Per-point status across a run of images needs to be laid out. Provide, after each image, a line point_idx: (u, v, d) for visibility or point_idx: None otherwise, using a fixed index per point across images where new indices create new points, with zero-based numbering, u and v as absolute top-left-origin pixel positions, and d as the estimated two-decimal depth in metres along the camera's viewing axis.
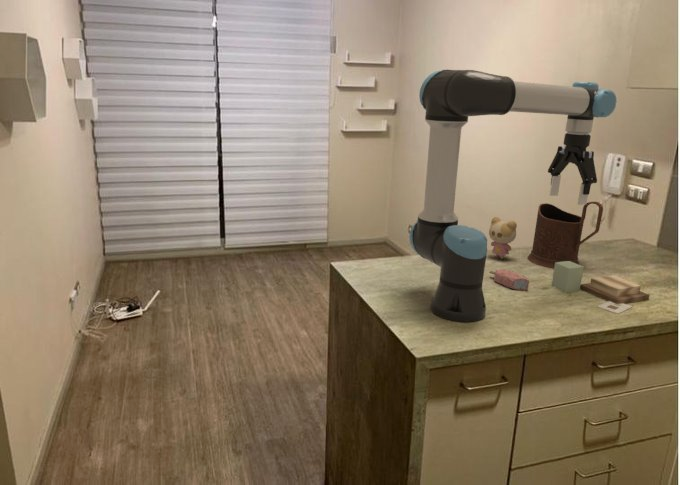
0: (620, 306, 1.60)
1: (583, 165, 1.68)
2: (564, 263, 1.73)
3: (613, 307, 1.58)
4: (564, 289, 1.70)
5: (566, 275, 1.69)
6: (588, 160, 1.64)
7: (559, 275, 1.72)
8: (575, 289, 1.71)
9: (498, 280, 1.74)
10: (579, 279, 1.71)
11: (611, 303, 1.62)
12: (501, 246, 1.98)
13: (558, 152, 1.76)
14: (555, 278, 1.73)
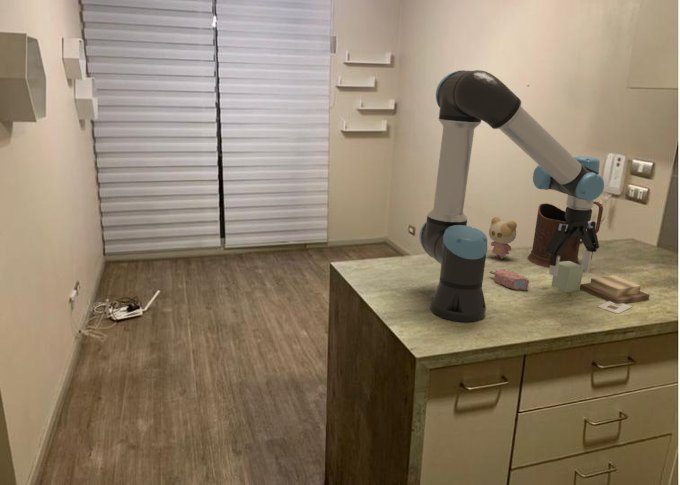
0: (620, 306, 1.60)
1: (564, 238, 1.67)
2: (564, 263, 1.73)
3: (613, 307, 1.58)
4: (564, 289, 1.70)
5: (566, 275, 1.69)
6: (556, 232, 1.66)
7: (559, 275, 1.72)
8: (575, 289, 1.71)
9: (498, 280, 1.74)
10: (579, 279, 1.71)
11: (611, 303, 1.62)
12: (501, 246, 1.98)
13: None
14: (555, 278, 1.73)
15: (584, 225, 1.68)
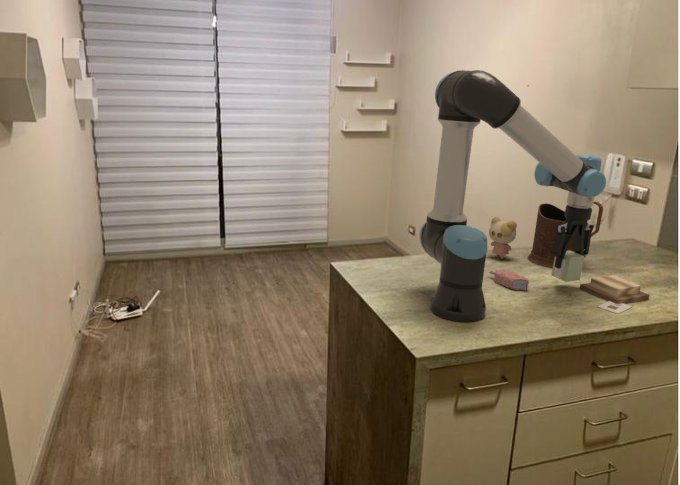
0: (620, 306, 1.60)
1: (565, 239, 1.68)
2: None
3: (613, 307, 1.58)
4: (564, 278, 1.69)
5: (567, 264, 1.68)
6: (557, 234, 1.67)
7: None
8: (575, 279, 1.70)
9: (498, 280, 1.74)
10: (579, 269, 1.70)
11: (611, 303, 1.62)
12: (501, 246, 1.98)
13: None
14: None
15: (584, 223, 1.67)
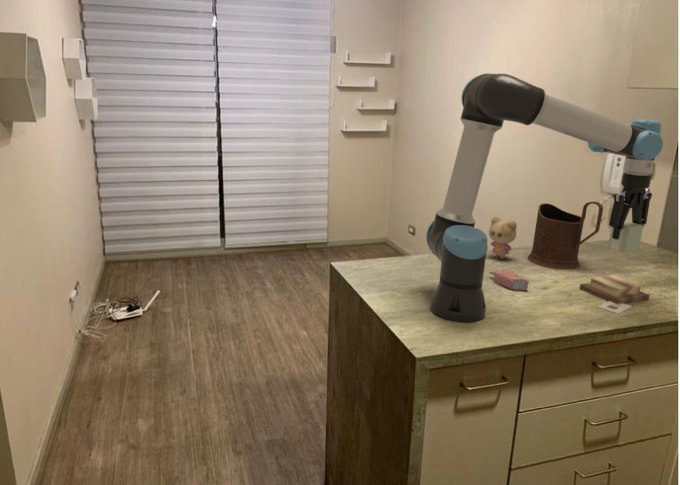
0: (620, 306, 1.60)
1: (623, 208, 1.61)
2: None
3: (613, 307, 1.58)
4: (622, 249, 1.63)
5: (626, 234, 1.61)
6: (615, 203, 1.60)
7: None
8: (634, 249, 1.64)
9: (498, 280, 1.74)
10: (638, 239, 1.63)
11: (611, 303, 1.62)
12: (501, 246, 1.98)
13: None
14: (612, 238, 1.66)
15: (642, 191, 1.61)
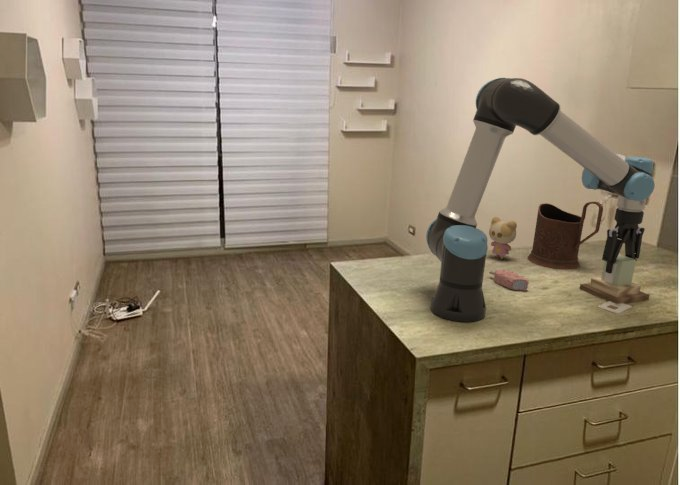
0: (620, 306, 1.60)
1: (616, 243, 1.64)
2: None
3: (613, 307, 1.58)
4: (615, 283, 1.66)
5: (619, 268, 1.64)
6: (608, 238, 1.63)
7: None
8: (627, 283, 1.67)
9: (497, 280, 1.74)
10: (631, 273, 1.66)
11: (611, 303, 1.62)
12: (501, 246, 1.98)
13: None
14: None
15: (635, 226, 1.64)
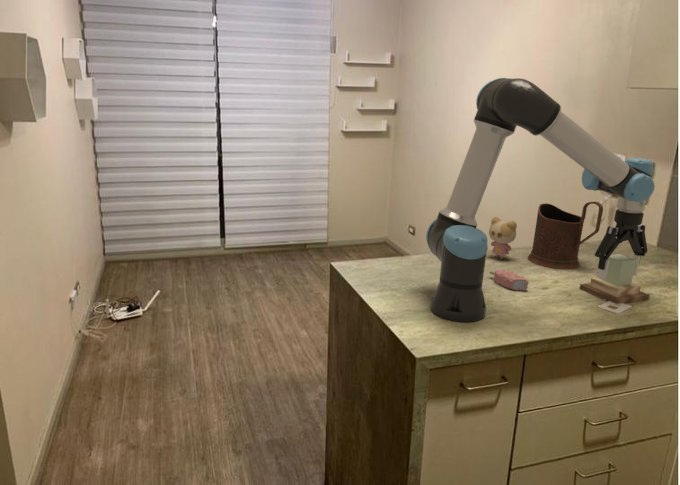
0: (620, 306, 1.60)
1: (613, 241, 1.63)
2: (615, 256, 1.68)
3: (613, 307, 1.58)
4: (615, 283, 1.66)
5: (619, 268, 1.64)
6: (606, 235, 1.62)
7: (610, 268, 1.67)
8: (627, 283, 1.67)
9: (497, 280, 1.74)
10: (631, 273, 1.66)
11: (611, 303, 1.62)
12: (501, 246, 1.98)
13: None
14: None
15: (634, 228, 1.64)
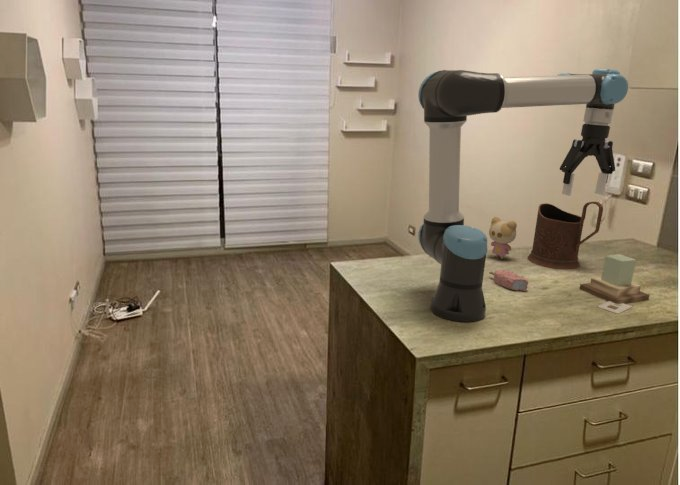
0: (620, 306, 1.60)
1: (579, 155, 1.61)
2: (615, 256, 1.68)
3: (613, 307, 1.58)
4: (615, 283, 1.66)
5: (619, 268, 1.64)
6: (571, 148, 1.60)
7: (610, 268, 1.67)
8: (627, 283, 1.67)
9: (497, 281, 1.74)
10: (631, 273, 1.66)
11: (611, 303, 1.62)
12: (501, 246, 1.98)
13: None
14: (606, 272, 1.69)
15: (601, 143, 1.62)
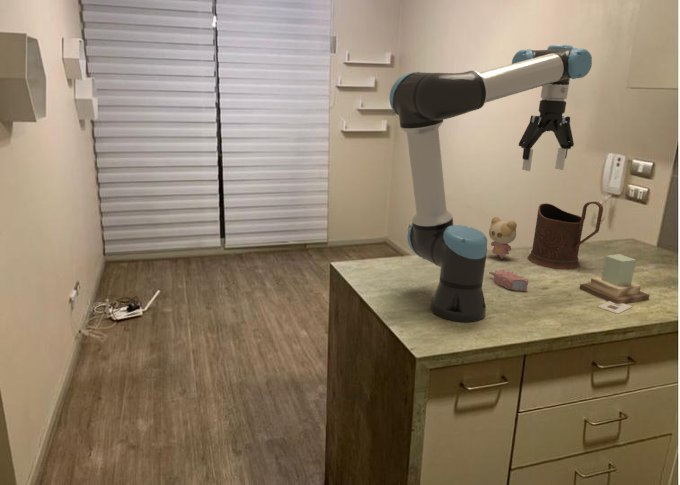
0: (620, 306, 1.60)
1: (537, 131, 1.64)
2: (615, 256, 1.68)
3: (613, 307, 1.58)
4: (615, 283, 1.66)
5: (619, 268, 1.64)
6: (529, 124, 1.63)
7: (610, 268, 1.67)
8: (627, 283, 1.67)
9: (497, 281, 1.74)
10: (631, 273, 1.66)
11: (611, 303, 1.62)
12: (501, 246, 1.98)
13: None
14: (606, 272, 1.69)
15: (558, 119, 1.65)
